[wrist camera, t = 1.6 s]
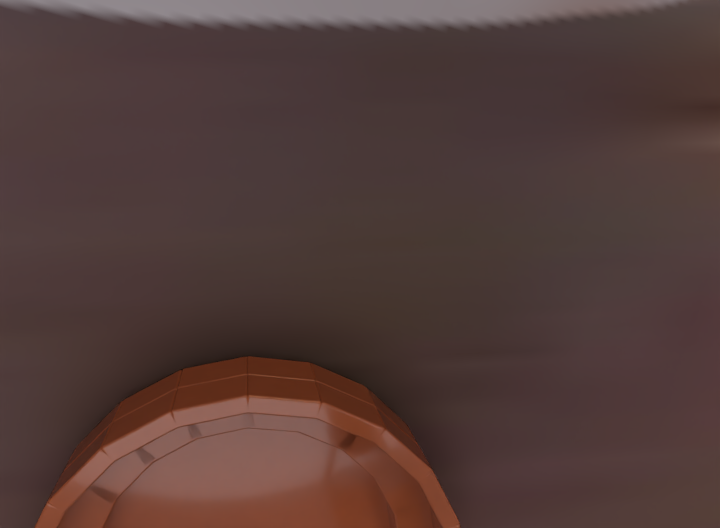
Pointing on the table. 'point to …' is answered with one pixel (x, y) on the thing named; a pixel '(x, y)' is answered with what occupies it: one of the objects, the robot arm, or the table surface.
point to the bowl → (249, 456)
